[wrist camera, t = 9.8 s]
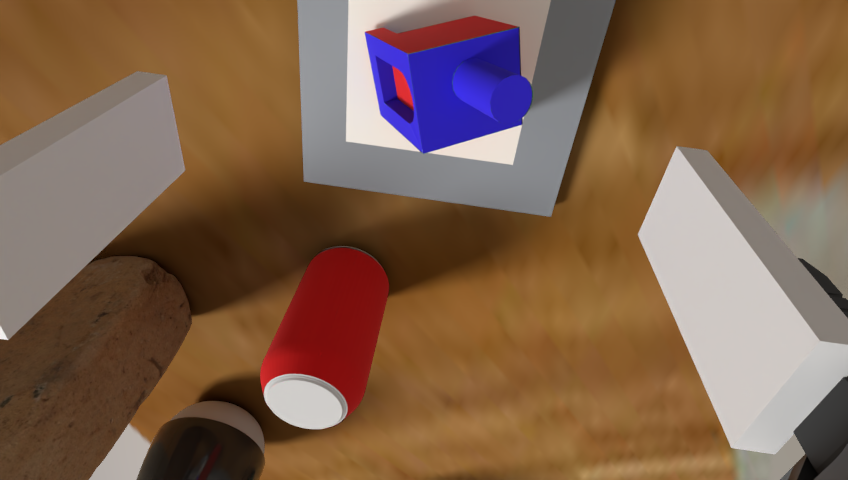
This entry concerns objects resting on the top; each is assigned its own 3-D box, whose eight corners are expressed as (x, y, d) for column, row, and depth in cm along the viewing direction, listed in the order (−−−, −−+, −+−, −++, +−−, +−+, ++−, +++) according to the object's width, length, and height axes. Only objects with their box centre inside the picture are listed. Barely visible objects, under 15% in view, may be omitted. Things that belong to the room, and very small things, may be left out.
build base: (297, -236, 22) (229, -285, 16) (664, -190, 21) (733, -222, 16) (309, 173, 33) (271, 233, 27) (548, 207, 33) (563, 275, 27)
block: (177, 250, 38) (-53, 517, 22) (209, 322, 42) (36, 592, 26) (49, 252, 40) (-258, 505, 23) (93, 322, 44) (-141, 577, 27)
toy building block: (464, 92, 24) (566, 148, 17) (379, 115, 22) (453, 183, 16) (456, 10, 22) (567, 39, 15) (363, 32, 21) (440, 71, 14)
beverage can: (344, 224, 35) (290, 351, 25) (408, 275, 37) (381, 411, 28) (294, 270, 38) (229, 400, 28) (357, 315, 40) (316, 451, 30)
